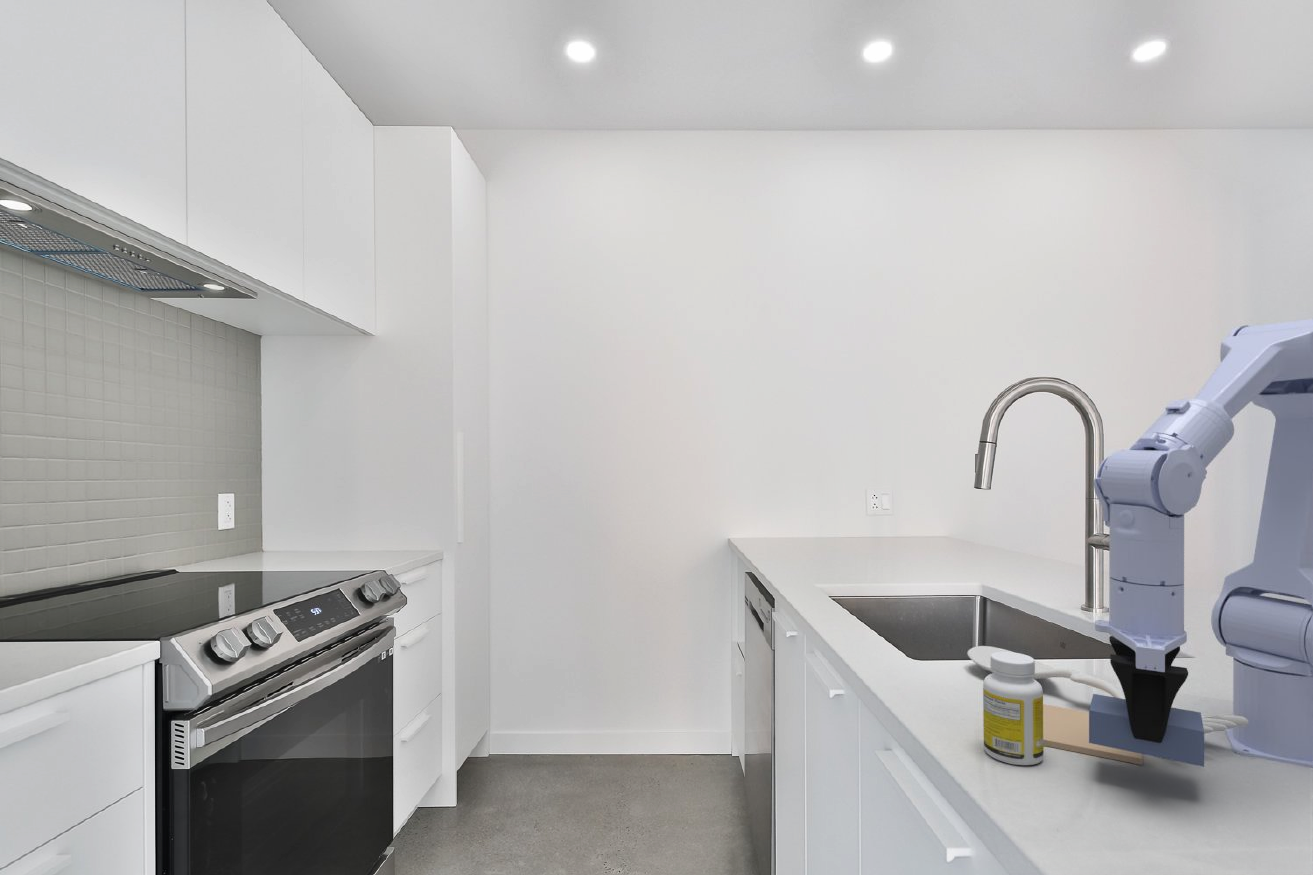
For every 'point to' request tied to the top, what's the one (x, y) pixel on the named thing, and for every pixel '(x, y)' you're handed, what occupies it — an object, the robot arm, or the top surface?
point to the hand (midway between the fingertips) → (1145, 727)
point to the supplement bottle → (1013, 710)
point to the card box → (1115, 732)
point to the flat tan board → (1078, 735)
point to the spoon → (1097, 686)
